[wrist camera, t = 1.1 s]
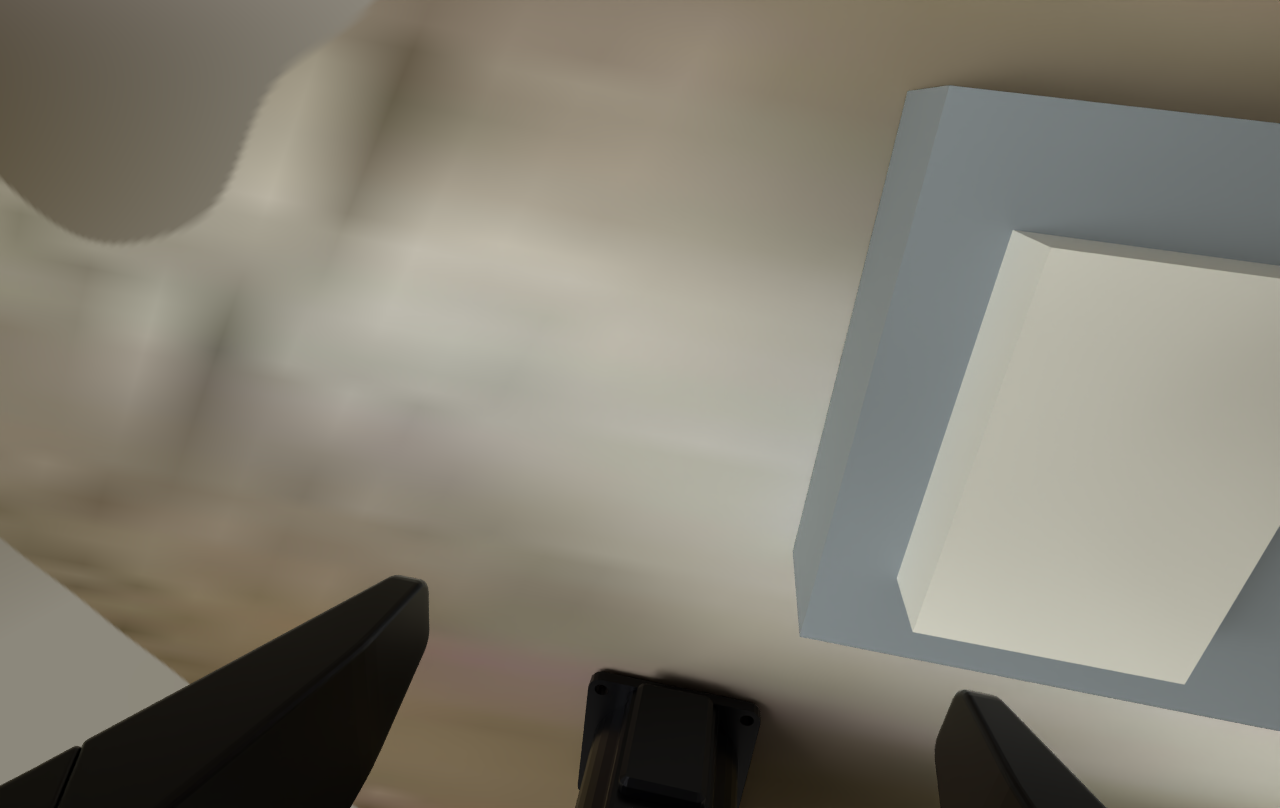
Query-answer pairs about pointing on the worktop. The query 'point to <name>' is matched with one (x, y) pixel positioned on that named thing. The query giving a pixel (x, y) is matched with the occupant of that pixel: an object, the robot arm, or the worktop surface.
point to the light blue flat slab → (948, 328)
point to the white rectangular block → (1105, 458)
